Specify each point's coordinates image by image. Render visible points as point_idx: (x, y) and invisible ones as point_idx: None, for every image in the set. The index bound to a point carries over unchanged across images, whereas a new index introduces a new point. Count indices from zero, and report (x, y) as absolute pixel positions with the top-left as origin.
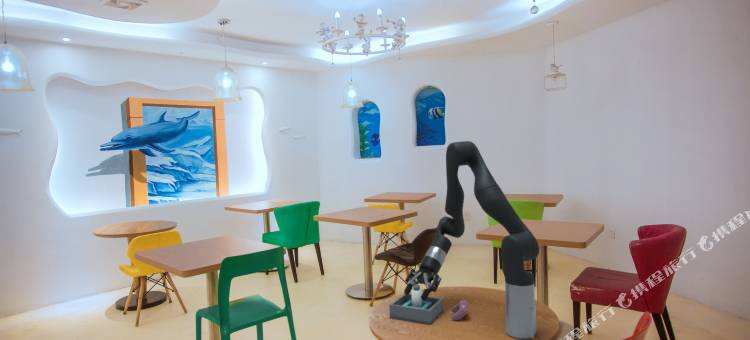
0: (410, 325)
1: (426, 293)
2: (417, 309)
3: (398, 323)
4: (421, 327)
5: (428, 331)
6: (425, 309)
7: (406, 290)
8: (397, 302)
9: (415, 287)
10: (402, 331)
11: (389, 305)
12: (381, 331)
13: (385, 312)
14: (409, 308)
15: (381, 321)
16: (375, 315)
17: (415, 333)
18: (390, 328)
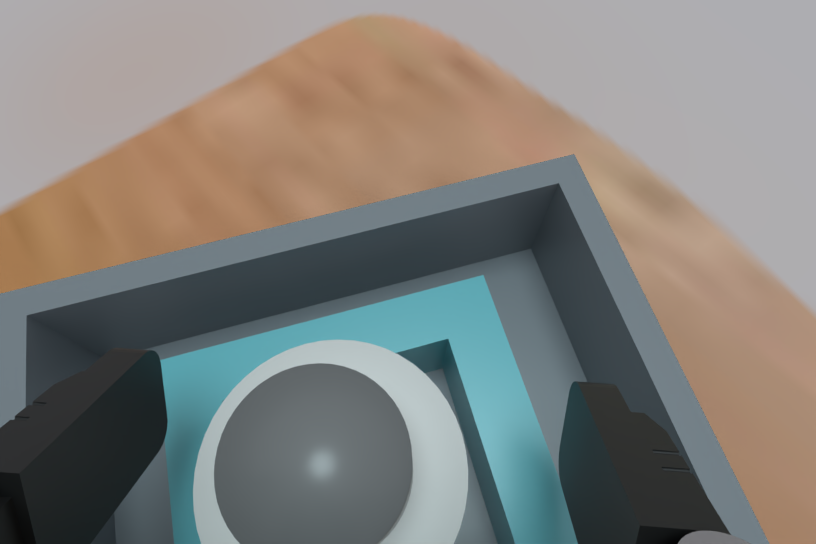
0: (260, 226)
1: (3, 425)
2: (182, 252)
3: (381, 196)
4: (146, 251)
5: (48, 223)
6: (70, 296)
7: (587, 408)
8: (618, 339)
9: (292, 372)
10: (248, 106)
11: (571, 161)
12: (383, 27)
13: (696, 319)
14: (297, 225)
15: (532, 143)
16: (691, 203)
17: (134, 136)
18: (365, 93)
